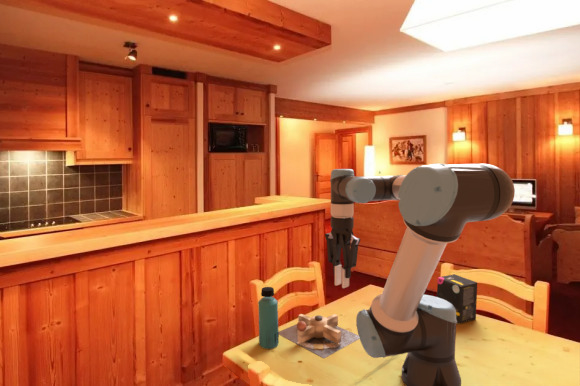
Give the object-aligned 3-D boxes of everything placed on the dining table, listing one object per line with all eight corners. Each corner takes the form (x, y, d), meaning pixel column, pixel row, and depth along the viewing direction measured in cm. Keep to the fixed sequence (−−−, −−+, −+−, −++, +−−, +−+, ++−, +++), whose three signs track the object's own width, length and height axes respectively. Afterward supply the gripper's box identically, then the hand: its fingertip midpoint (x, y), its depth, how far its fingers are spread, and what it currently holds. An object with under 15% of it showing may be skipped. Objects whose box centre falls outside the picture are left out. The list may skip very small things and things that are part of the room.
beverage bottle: (276, 354, 114) (275, 292, 112) (256, 352, 116) (254, 291, 114) (281, 344, 121) (280, 285, 119) (261, 342, 122) (260, 284, 120)
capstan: (356, 334, 123) (356, 314, 122) (318, 355, 110) (318, 332, 110) (317, 317, 136) (317, 299, 136) (279, 334, 124) (279, 314, 123)
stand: (362, 341, 122) (362, 336, 122) (323, 363, 109) (323, 357, 109) (314, 320, 138) (314, 315, 138) (276, 337, 125) (276, 332, 125)
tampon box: (435, 313, 143) (436, 276, 142) (452, 309, 147) (453, 273, 146) (458, 324, 133) (460, 285, 132) (476, 319, 137) (478, 281, 136)
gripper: (368, 217, 117) (367, 288, 119) (331, 212, 128) (331, 277, 131) (354, 220, 112) (353, 294, 114) (316, 214, 123) (317, 282, 125)
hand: (341, 285), depth 122 cm, fingers open, 3 cm apart
